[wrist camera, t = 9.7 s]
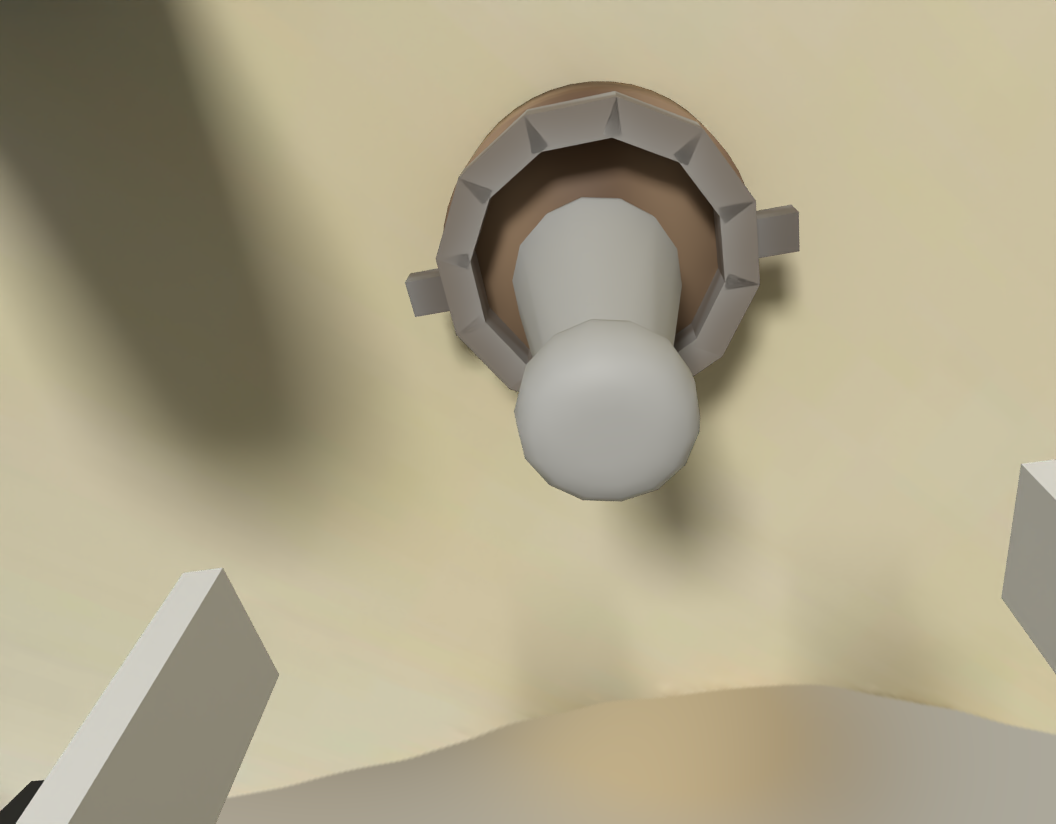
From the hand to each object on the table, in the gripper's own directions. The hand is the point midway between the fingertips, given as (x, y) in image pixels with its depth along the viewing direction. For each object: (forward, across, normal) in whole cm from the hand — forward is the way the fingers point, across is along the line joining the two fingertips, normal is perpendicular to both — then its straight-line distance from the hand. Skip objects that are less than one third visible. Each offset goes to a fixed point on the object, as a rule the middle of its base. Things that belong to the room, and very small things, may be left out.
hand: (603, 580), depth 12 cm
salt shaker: (+18, 0, 0) cm, 18 cm away
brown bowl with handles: (+20, 0, 0) cm, 20 cm away
